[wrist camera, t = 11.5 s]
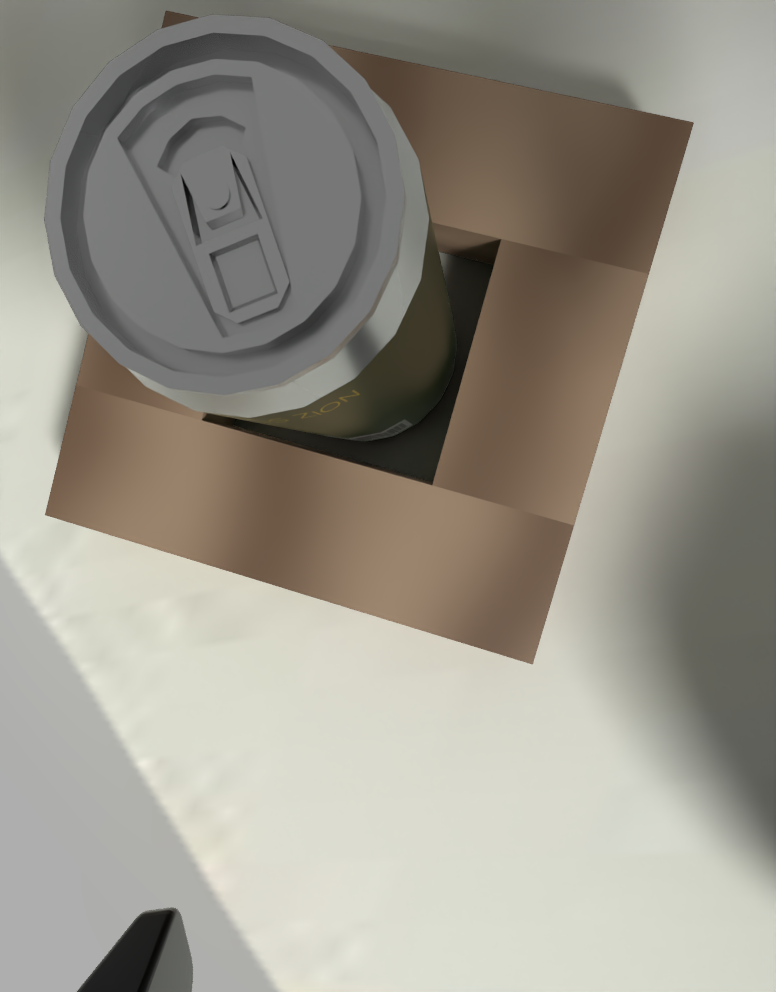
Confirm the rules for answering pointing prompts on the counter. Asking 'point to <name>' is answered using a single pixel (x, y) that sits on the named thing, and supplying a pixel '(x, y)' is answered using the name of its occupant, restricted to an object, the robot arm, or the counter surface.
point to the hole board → (480, 401)
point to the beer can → (252, 232)
